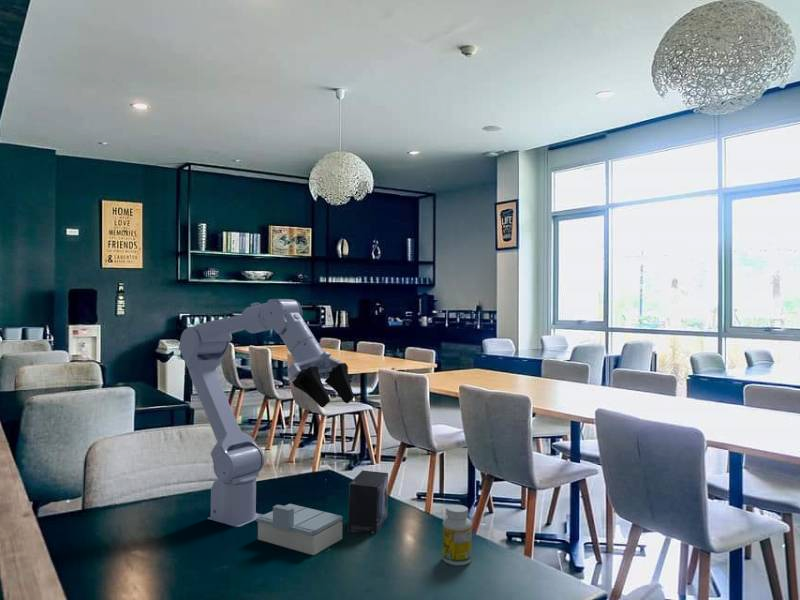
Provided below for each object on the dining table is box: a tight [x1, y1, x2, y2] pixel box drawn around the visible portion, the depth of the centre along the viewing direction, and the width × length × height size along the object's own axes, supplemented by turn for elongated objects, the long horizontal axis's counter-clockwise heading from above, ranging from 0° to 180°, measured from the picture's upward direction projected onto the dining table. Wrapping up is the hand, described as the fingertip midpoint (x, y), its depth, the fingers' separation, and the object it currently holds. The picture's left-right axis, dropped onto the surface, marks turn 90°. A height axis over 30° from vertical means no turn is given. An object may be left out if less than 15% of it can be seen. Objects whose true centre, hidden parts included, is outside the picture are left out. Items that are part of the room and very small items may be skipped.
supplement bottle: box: [442, 504, 473, 567], centre depth 110 cm, size 5×5×10 cm
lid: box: [255, 503, 344, 536], centre depth 117 cm, size 14×10×4 cm
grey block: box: [257, 520, 343, 556], centre depth 118 cm, size 14×9×4 cm, turn 59°
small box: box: [347, 469, 389, 535], centre depth 126 cm, size 11×6×10 cm, turn 168°
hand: (338, 402), depth 114 cm, fingers open, 7 cm apart
